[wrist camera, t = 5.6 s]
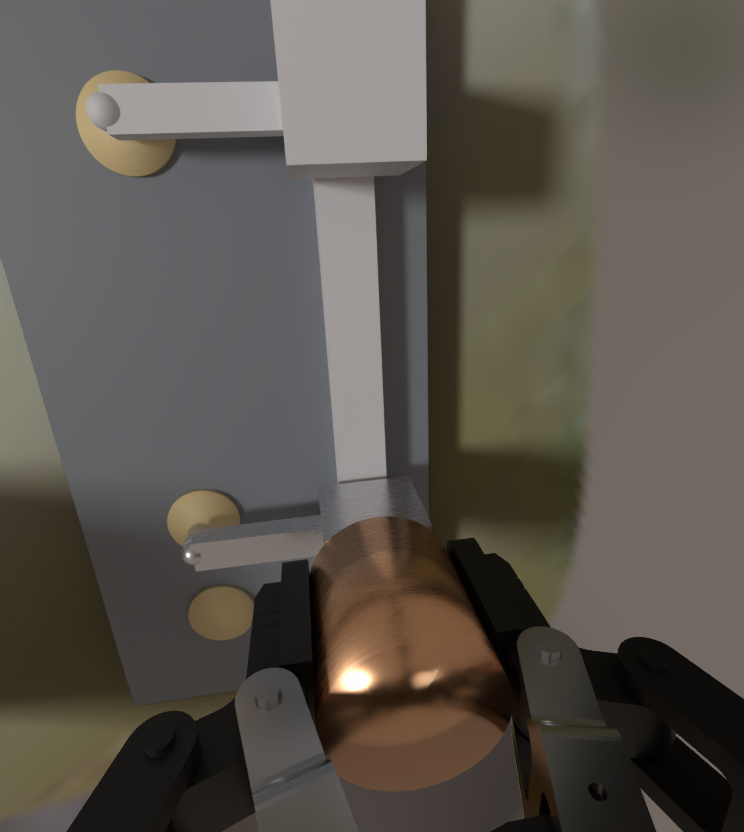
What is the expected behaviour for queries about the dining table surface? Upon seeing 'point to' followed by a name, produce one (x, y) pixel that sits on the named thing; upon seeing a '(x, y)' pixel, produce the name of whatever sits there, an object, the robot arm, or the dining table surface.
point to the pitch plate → (215, 284)
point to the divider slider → (382, 634)
